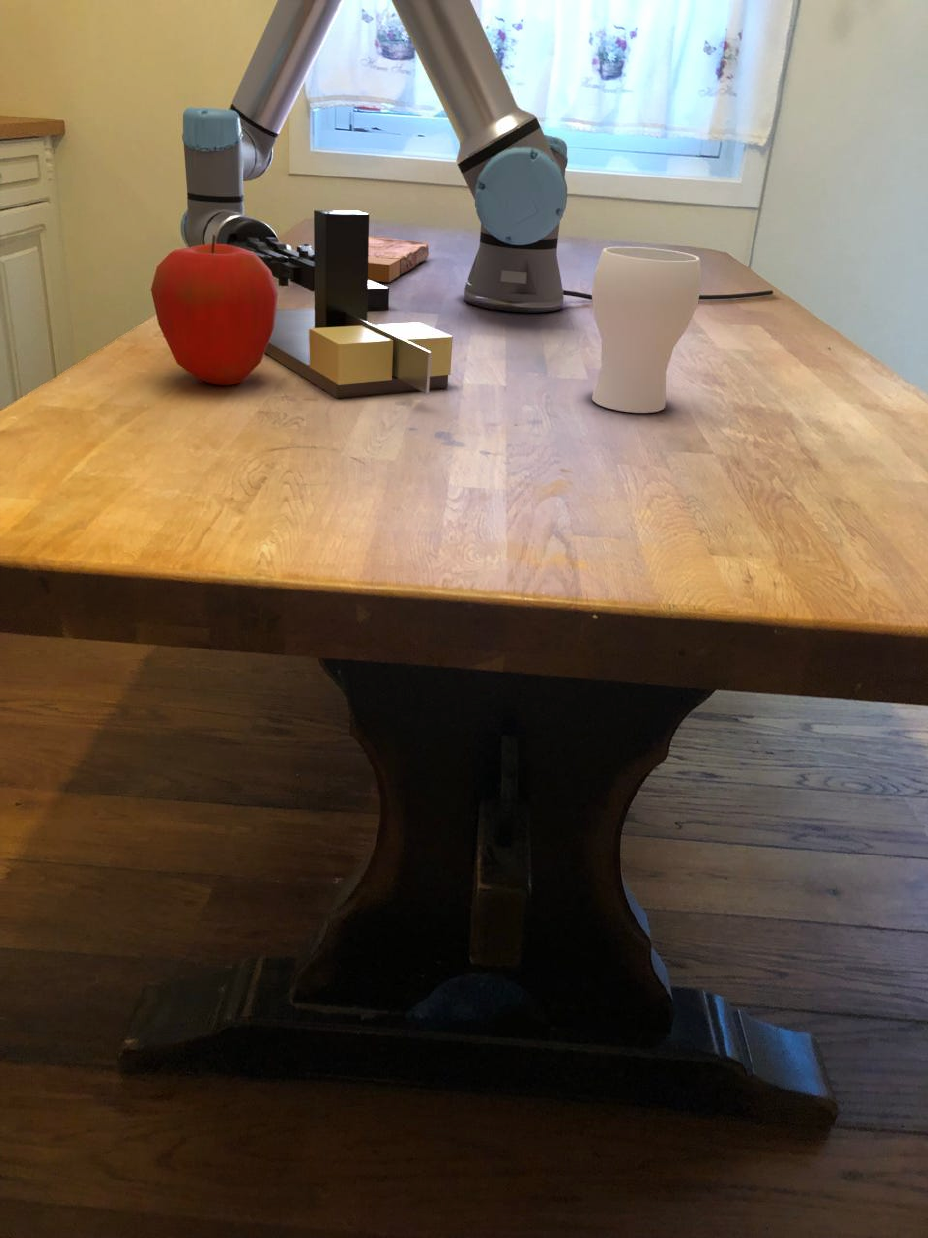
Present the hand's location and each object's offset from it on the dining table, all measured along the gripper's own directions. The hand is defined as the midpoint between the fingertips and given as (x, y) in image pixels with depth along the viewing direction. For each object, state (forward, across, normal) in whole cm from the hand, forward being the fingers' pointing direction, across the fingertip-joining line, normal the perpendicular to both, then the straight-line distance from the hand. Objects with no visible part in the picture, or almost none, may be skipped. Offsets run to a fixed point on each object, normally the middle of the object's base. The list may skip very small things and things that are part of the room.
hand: (318, 278), depth 108 cm
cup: (+30, -22, -8) cm, 38 cm away
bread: (-52, -35, -8) cm, 64 cm away
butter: (+16, 0, -6) cm, 17 cm away
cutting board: (+2, 0, -8) cm, 8 cm away
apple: (+9, +15, -8) cm, 20 cm away
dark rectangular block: (-23, -17, -8) cm, 29 cm away
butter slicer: (+15, 0, -6) cm, 17 cm away
